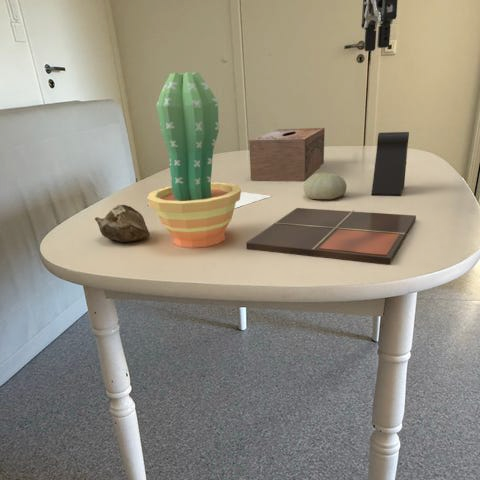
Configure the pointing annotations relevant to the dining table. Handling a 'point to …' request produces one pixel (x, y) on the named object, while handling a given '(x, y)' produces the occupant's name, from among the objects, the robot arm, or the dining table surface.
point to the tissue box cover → (287, 154)
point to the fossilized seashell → (123, 224)
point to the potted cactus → (192, 165)
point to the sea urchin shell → (324, 186)
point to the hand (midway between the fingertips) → (376, 49)
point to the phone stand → (390, 163)
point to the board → (336, 235)
